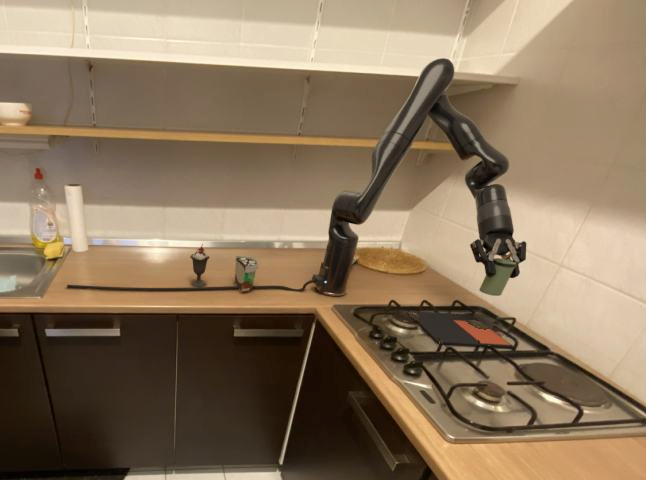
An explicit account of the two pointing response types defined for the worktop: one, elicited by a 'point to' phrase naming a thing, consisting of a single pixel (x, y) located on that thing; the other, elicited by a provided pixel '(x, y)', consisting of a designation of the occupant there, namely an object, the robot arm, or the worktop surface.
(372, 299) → the worktop surface
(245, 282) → the food container
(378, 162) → the robot arm
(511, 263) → the tea tin
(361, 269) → the worktop surface
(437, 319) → the corner mat
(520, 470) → the worktop surface
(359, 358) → the worktop surface
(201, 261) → the sundae
